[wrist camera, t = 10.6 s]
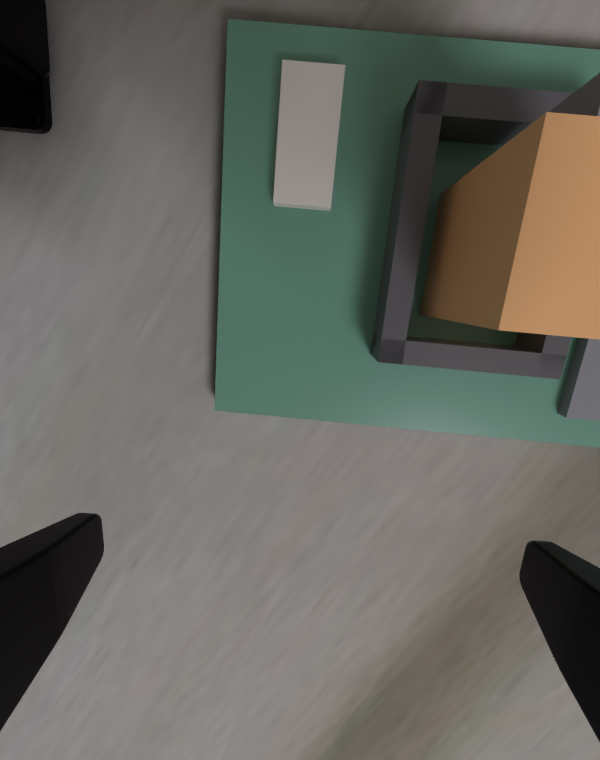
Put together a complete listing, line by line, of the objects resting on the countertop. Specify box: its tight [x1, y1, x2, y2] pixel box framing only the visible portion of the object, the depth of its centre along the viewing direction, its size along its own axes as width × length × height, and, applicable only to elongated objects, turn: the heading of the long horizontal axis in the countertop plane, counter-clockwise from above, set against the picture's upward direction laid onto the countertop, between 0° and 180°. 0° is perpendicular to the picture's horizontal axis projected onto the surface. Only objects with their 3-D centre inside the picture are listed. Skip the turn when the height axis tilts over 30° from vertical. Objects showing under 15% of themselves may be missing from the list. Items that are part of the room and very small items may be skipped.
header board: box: [215, 19, 600, 447], centre depth 15 cm, size 22×16×3 cm
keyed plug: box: [420, 73, 600, 340], centre depth 12 cm, size 4×6×7 cm, turn 175°
